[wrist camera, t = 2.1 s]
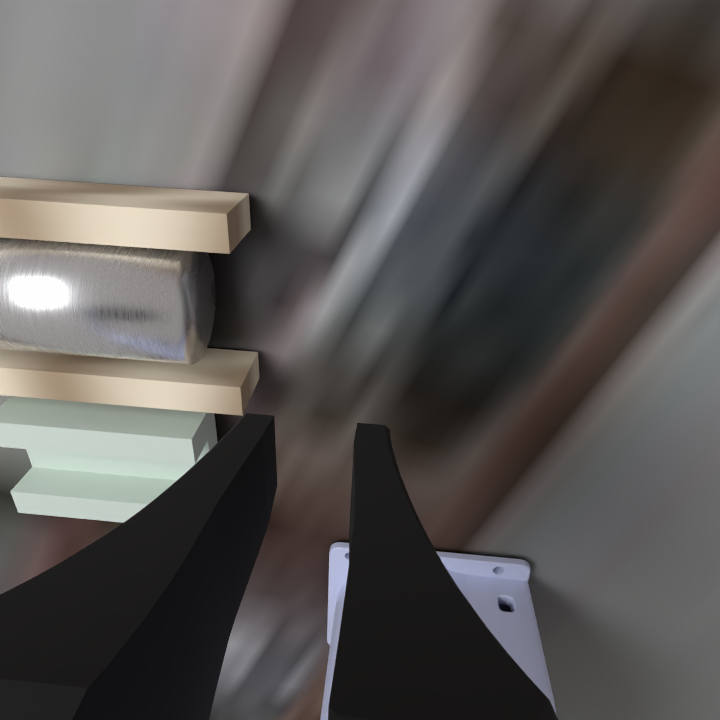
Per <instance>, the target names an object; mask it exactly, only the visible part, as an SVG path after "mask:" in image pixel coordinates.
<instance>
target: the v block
mask: <svg viewBox="0 0 720 720" xmlns="http://www.w3.org/2000/svg"><path fill="white" fill-rule="evenodd" d="M217 443H218V442H217V433H216V424H215V415H214V413H206V412H194V411H182V410H170V409H159V408H147V407H135V406H124V405H112V404H100V403H88V402H77V401H65V400H53V399H41V398H30V397H18V396H11V397H10V398H9V399H8V400H7V401H6V402H5V403H3V404H2V405H1V406H0V447H9V448H20V449H26V450H27V453H28V456H29V458H30V461H31V464H32V468H31V469H30V470H29V471H28V472H27V474H26V475H25V476H24V477H23V478H22V479H21V480H20V481H19V483H18V484H17V485H16V486H15V487H14V488H13V489H12V490H11V491H10V492H11V494H12V497H13V500H14V502H15V505H16V507H17V510H18V513H29V514H39V515H50V516H60V517H71V518H81V519H92V520H102V521H113V522H125V521H127V520H128V519H129V518H131V517H132V516H133V515H135V514H136V513H137V512H139V511H140V510H141V509H143V508H144V507H145V506H147V505H148V504H149V503H150V502H152V501H153V500H154V499H156V498H157V497H158V496H159V495H160V494H161V493H163V492H164V491H165V490H166V489H167V488H169V487H170V486H171V485H172V484H173V483H174V482H176V481H177V480H178V479H179V478H180V477H182V476H183V475H184V474H185V473H186V472H187V471H188V470H189V469H190V468H191V467H193V466H194V465H195V464H196V463H197V462H198V461H199V460H200V459H201V458H202V457H203V456H204V455H205V454H206V453H207V452H209V451H210V450H211V449H212V448H213V447H214V446H215V445H216V444H217Z"/></svg>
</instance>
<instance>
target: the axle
mask: <svg viewBox="0 0 720 720" xmlns="http://www.w3.org/2000/svg"><path fill="white" fill-rule="evenodd" d="M215 304H216V289H215V278H214V271H213V266H212V263H211V259H210V257H209V254H208V252H196V251H183V250H169V249H155V248H141V247H127V246H113V245H99V244H85V243H71V242H57V241H43V240H29V239H15V238H1V237H0V349H7V350H20V351H32V352H45V353H57V354H69V355H82V356H94V357H107V358H119V359H131V360H144V361H156V362H169V363H181V364H195V363H197V362H198V361H199V360H200V359H201V358H202V356H203V355H204V353H205V351H206V349H207V346H208V344H209V341H210V337H211V333H212V329H213V323H214V316H215Z"/></svg>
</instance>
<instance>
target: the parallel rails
mask: <svg viewBox="0 0 720 720" xmlns="http://www.w3.org/2000/svg"><path fill="white" fill-rule="evenodd" d="M250 230H251V223H250V206H249V193H234V192H219V191H204V190H189V189H174V188H159V187H144V186H129V185H114V184H99V183H84V182H69V181H54V180H39V179H24V178H9V177H0V237H1V238H15V239H29V240H43V241H57V242H71V243H85V244H99V245H113V246H127V247H141V248H155V249H169V250H183V251H196V252H210V253H224V254H230V253H231V252H232V251H233V250H234V248H235V247H236V246H237V245H238V244H239V243H240V241H241V240H242V239H243V238H244V237H245V236H246V234H247V233H248V232H249V231H250ZM258 381H259V361H258V352H251V351H238V350H226V349H213V348H207V349H206V351H205V353H204V355H203V356H202V358H201V359H200V360H199V361H198V362H197V363H195V364H181V363H169V362H156V361H144V360H131V359H119V358H107V357H94V356H82V355H69V354H57V353H45V352H32V351H20V350H7V349H0V395H6V396H18V397H30V398H41V399H53V400H65V401H77V402H88V403H100V404H112V405H124V406H135V407H147V408H159V409H170V410H182V411H194V412H206V413H217V414H229V415H241V416H243V414H244V412H245V409H246V407H247V405H248V403H249V400H250V398H251V396H252V394H253V392H254V389H255V387H256V385H257V383H258Z"/></svg>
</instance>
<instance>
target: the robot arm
mask: <svg viewBox="0 0 720 720" xmlns="http://www.w3.org/2000/svg"><path fill="white" fill-rule="evenodd" d="M276 488H277V470H276V447H275V423H274V416H270V415H258V414H246V415H245V416H244V417H242V418H241V419H240V420H239V421H238V422H237V423H236V424H235V426H234V427H233V428H232V429H231V430H230V431H229V432H228V433H227V434H226V435H225V436H224V437H223V438H222V439H221V440H220V441H219V442H218V443H217V444H216V445H215V446H214V447H213V448H212V449H211V450H210V451H209V452H207V453H206V454H205V455H204V456H203V457H202V458H201V459H200V460H199V461H198V462H197V463H196V464H195V465H194V466H193V467H191V468H190V469H189V470H188V471H187V472H186V473H185V474H184V475H183V476H182V477H180V478H179V479H178V480H177V481H176V482H174V483H173V484H172V485H171V486H170V487H169V488H167V489H166V490H165V491H164V492H163V493H161V494H160V495H159V496H158V497H157V498H156V499H154V500H153V501H152V502H150V503H149V504H148V505H147V506H145V507H144V508H143V509H141V510H140V511H139V512H137V513H136V514H135V515H133V516H132V517H131V518H129V519H128V520H127V521H125V522H124V523H122V524H121V525H120V526H118V527H117V528H115V529H114V530H112V531H111V532H109V533H108V534H106V535H105V536H103V537H102V538H100V539H98V540H97V541H95V542H94V543H92V544H90V545H89V546H87V547H85V548H84V549H82V550H81V551H79V552H77V553H76V554H74V555H72V556H71V557H69V558H68V559H66V560H64V561H63V562H61V563H59V564H57V565H56V566H54V567H52V568H50V569H48V570H47V571H45V572H43V573H41V574H39V575H38V576H36V577H34V578H32V579H30V580H28V581H26V582H24V583H22V584H20V585H18V586H17V587H15V588H13V589H11V590H9V591H7V592H5V593H3V594H1V595H0V720H209V716H210V712H211V708H212V704H213V700H214V696H215V691H216V687H217V683H218V679H219V675H220V671H221V667H222V663H223V659H224V656H225V652H226V648H227V644H228V640H229V636H230V633H231V630H232V627H233V624H234V620H235V617H236V614H237V612H238V609H239V606H240V603H241V600H242V598H243V595H244V592H245V589H246V586H247V584H248V581H249V578H250V575H251V572H252V570H253V567H254V564H255V561H256V558H257V556H258V553H259V550H260V547H261V544H262V541H263V539H264V536H265V533H266V530H267V527H268V523H269V519H270V515H271V510H272V506H273V502H274V497H275V492H276ZM529 576H530V566H529V564H528V562H527V561H525V560H521V559H513V558H502V557H492V556H481V555H471V554H460V553H450V552H439V551H435V549H434V547H433V545H432V543H431V542H430V540H429V538H428V536H427V534H426V532H425V530H424V528H423V526H422V524H421V522H420V520H419V518H418V516H417V514H416V512H415V509H414V507H413V505H412V503H411V500H410V498H409V496H408V493H407V490H406V488H405V485H404V483H403V480H402V478H401V475H400V472H399V469H398V466H397V463H396V459H395V456H394V452H393V449H392V444H391V438H390V430H389V429H388V428H387V427H386V426H385V425H376V424H364V423H357V429H356V434H355V440H354V452H353V471H352V491H351V510H350V529H349V543H344V542H337V543H334V544H332V545H331V548H330V553H329V589H328V628H327V642H328V644H329V645H330V650H329V658H328V666H327V673H326V681H325V688H324V696H323V704H322V711H321V719H320V720H558V718H557V714H556V708H555V703H554V698H553V693H552V688H551V684H550V679H549V675H548V670H547V666H546V661H545V657H544V652H543V648H542V643H541V639H540V634H539V630H538V625H537V621H536V616H535V612H534V607H533V603H532V598H531V594H530V589H529V585H528V579H529Z"/></svg>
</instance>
